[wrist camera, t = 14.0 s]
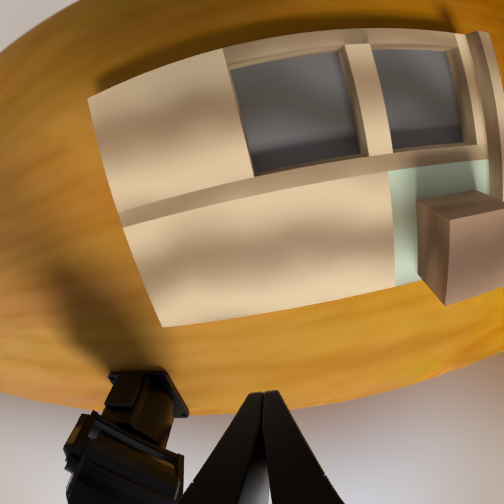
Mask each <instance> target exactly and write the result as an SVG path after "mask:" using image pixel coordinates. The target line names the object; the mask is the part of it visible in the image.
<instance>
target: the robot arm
mask: <svg viewBox="0 0 504 504" xmlns="http://www.w3.org/2000/svg"><path fill="white" fill-rule="evenodd" d="M162 376H163V377H162ZM108 378H109V380H110V381H111V383H112V384H113V387H112V389H111V391H110V393H109V395H108V397H107V399H106V401H105V403H104V404H105V408H104V410H103V412H102V415H99V414H98V412H96V411H94V410H93V411H92V413H91V415H89V414H81V416H80V418H79V420H78V422H77V424H76V426H75V428H74V429H73V431H72V433H71V434H70V436H69V438H68V440H67V441H66V443H65V445H64V448H63V450H64V453H65V455H66V460H65V461H67V464H66V466H65V468H64V469H65V470H67V471H69V472H70V473H72V475H71V477H70V480H69V482H68V484H67V487H66V497H67V501H68V504H268V498H269V488H270V491H271V499H272V504H345V503H344V502H343V501H342V500H341V498H340V497H339V495H338V494H337V492H336V491H335V489H334V488H333V486H332V484H331V483H330V481H329V479H328V478H327V476H326V475H325V473H324V471H323V469H322V468H321V466H320V464H319V463H318V461H317V459H316V457H315V456H314V454H313V452H312V450H311V449H310V447H309V445H308V443H307V442H306V440H305V438H304V437H303V435H302V433H301V431H300V429H299V427H298V426H297V424H296V422H295V420H294V418H293V417H292V415H291V413H290V411H289V409H288V407H287V406H286V404H285V402H284V400H283V398H282V396H281V395H280V393H279V391H278V390H272V391H265V392H264V393H263V392H254V393H250V394H248V396H247V397H246V399H245V401H244V402H243V404H242V406H241V407H240V409H239V411H238V412H237V414H236V415H235V417H234V419H233V420H232V422H231V424H230V425H229V427H228V428H227V430H226V431H225V433H224V435H223V436H222V438H221V439H220V441H219V442H218V444H217V445H216V447H215V448H214V450H213V451H212V453H211V454H210V456H209V458H208V459H207V461H206V462H205V463H204V465H203V467H202V468H201V469H200V471H199V472H198V474H197V475H196V477H195V478H194V480H193V483H191V484H190V485H189V487H188V488H187V489H186V491H185V492H184V494H183V482H184V477H183V476H184V456H183V455H181V454H179V453H178V454H176V453H174V452H171V451H169V450H167V449H166V445H167V441H168V438H169V434H170V431H171V427H172V423H173V420H174V418H187V417H188V416H189V411H188V409H187V408H186V406H185V404H184V403H183V401H182V399H181V398H180V396H179V394H178V392H177V391H176V389H175V387H174V385H173V384H172V382H171V380H170V378H169V376H168V375H167V373H166V372H164V371H143V372H110V373H109V375H108Z"/></svg>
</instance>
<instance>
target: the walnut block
mask: <svg viewBox="0 0 504 504" xmlns="http://www.w3.org/2000/svg"><path fill="white" fill-rule="evenodd" d="M416 211H417V236H418V273H417V274H418V275H419V276H420V278H421V279H422V280H423V281H424V282H425V283H426V284H427V285H428V287H429V288H430V289H431V290H432V291H433V292H434V294H435V295H436V296H437V297H438V298H439V300H440V301H441V302H442V303H443V304H444V306H446V305H449V304H453V303H456V302H459V301H462V300H465V299H468V298H471V297H474V296H477V295H480V294H483V293H486V292H489V291H491V290H494V289H497V288H500V287H502V286H504V202H503V201H501V200H499V199H496V198H494V197H492V196H490V195H487V194H485V193H482V192H480V191H478V190H474V191H468V192H462V193H456V194H450V195H444V196H438V197H432V198H426V199H420V200H416Z"/></svg>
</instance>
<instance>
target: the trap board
mask: <svg viewBox="0 0 504 504" xmlns="http://www.w3.org/2000/svg"><path fill="white" fill-rule="evenodd" d="M88 103H89V108H90V113H91V117H92V122H93V126H94V130H95V134H96V139H97V143H98V146H99V150H100V154H101V158H102V162H103V165H104V169H105V172H106V176H107V179H108V183H109V186H110V189H111V193H112V196H113V199H114V202H115V205H116V209H117V212H118V215H119V218H120V221H121V224H122V227H123V229H124V232H125V235H126V238H127V241H128V244H129V246H130V249H131V252H132V255H133V257H134V260H135V262H136V265H137V268H138V270H139V273H140V275H141V278H142V280H143V283H144V285H145V288H146V290H147V293H148V295H149V298H150V300H151V302H152V305H153V307H154V309H155V312H156V314H157V316H158V318H159V321H160V323H161V325H162V327H172V326H180V325H188V324H195V323H203V322H210V321H217V320H224V319H230V318H237V317H243V316H250V315H256V314H262V313H268V312H273V311H279V310H285V309H290V308H296V307H301V306H306V305H312V304H317V303H322V302H327V301H332V300H337V299H341V298H346V297H351V296H355V295H360V294H365V293H369V292H373V291H378V290H382V289H386V288H391V287H395V286H399V285H403V284H407V283H411V282H415V281H419V280H422V279H421V278H420V276H419V275H418V274H417V273H418V236H417V211H416V200H420V199H426V198H432V197H438V196H444V195H450V194H456V193H462V192H468V191H474V190H478V191H480V192H482V193H485V194H487V195H490V196H492V197H494V198H496V199H499V200H501V201H503V202H504V92H503V87H502V82H501V77H500V73H499V69H498V64H497V60H496V57H495V53H494V49H493V46H492V42H491V39H490V36H489V33H487V32H483V31H475V32H472V33H469V34H467V35H463V34H457V33H449V32H441V31H431V30H419V29H401V28H356V29H337V30H325V31H315V32H306V33H298V34H291V35H284V36H278V37H272V38H266V39H261V40H256V41H251V42H246V43H242V44H237V45H233V46H229V47H225V48H221V49H217V50H213V51H210V52H206V53H203V54H199V55H196V56H193V57H189V58H186V59H183V60H180V61H177V62H174V63H171V64H168V65H165V66H162V67H160V68H157V69H154V70H152V71H149V72H146V73H144V74H141V75H139V76H136V77H134V78H131V79H129V80H127V81H124V82H122V83H120V84H118V85H115V86H113V87H111V88H109V89H107V90H104V91H102V92H100V93H98V94H96V95H94V96H92V97H90V98H88Z"/></svg>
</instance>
